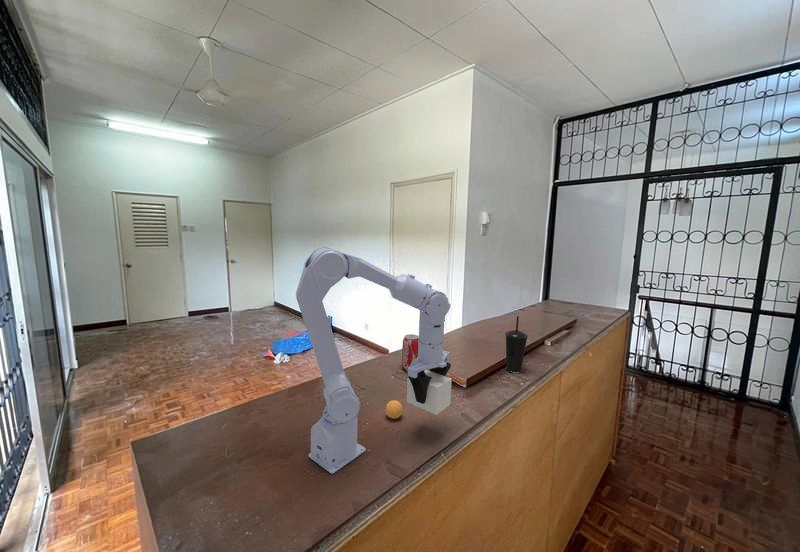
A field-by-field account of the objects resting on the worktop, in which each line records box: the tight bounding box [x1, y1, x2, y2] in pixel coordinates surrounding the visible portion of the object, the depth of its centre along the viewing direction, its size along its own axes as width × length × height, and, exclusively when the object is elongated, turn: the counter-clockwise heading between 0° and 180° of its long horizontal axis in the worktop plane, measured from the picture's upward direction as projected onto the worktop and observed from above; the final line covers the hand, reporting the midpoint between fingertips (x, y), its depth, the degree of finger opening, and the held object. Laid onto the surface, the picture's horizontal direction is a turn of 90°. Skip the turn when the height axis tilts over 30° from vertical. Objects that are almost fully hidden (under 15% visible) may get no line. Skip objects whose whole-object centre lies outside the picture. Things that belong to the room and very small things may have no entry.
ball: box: [385, 399, 403, 420], centre depth 83 cm, size 4×4×4 cm
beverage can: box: [401, 334, 419, 372], centre depth 113 cm, size 6×6×12 cm
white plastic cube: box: [406, 369, 453, 416], centre depth 76 cm, size 6×8×6 cm
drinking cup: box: [504, 315, 529, 372], centre depth 113 cm, size 8×8×20 cm
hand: (428, 396), depth 76 cm, fingers closed on white plastic cube, 6 cm apart
